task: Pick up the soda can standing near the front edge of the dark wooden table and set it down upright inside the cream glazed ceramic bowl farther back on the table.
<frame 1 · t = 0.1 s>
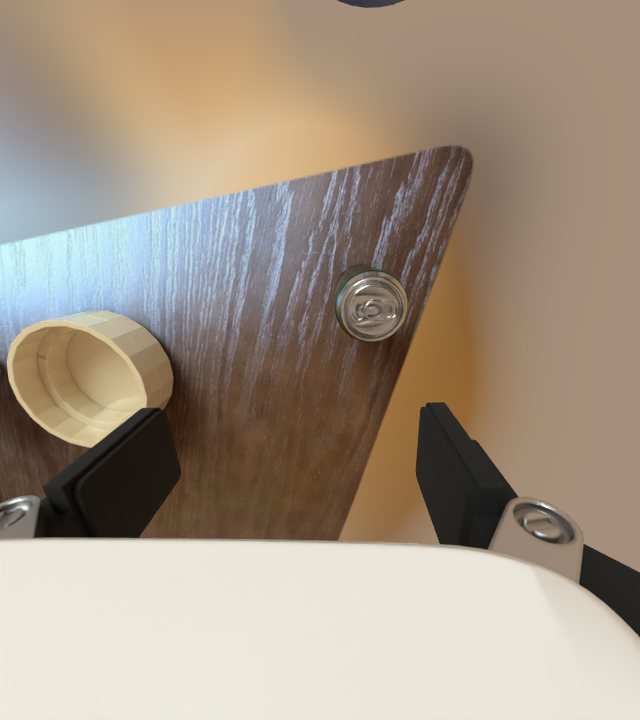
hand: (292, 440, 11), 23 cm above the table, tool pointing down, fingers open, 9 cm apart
bowl: (118, 367, 36), on the table
soda can: (359, 289, 31), on the table
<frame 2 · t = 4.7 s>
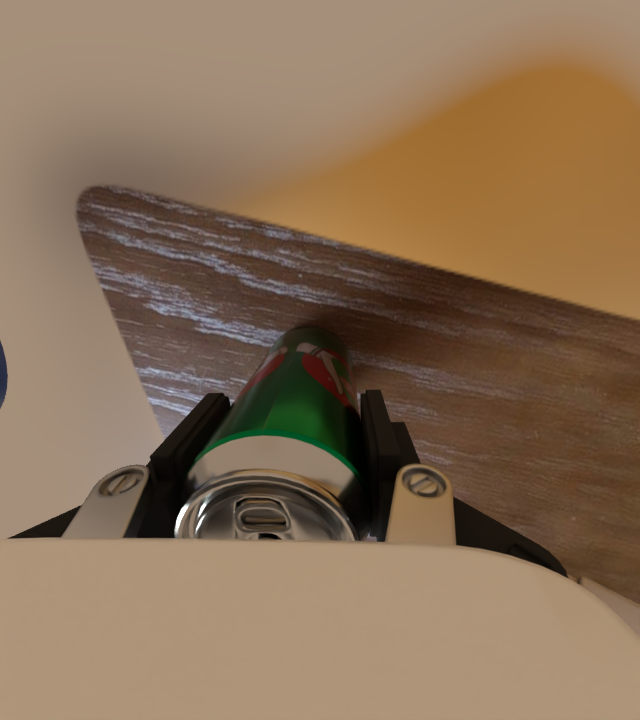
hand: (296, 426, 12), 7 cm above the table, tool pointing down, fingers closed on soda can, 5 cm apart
soda can: (310, 363, 18), on the table, touching gripper
when the fingers open (8 cm above the table, at t = 12.9 s): soda can stays where it is, resting on bowl.
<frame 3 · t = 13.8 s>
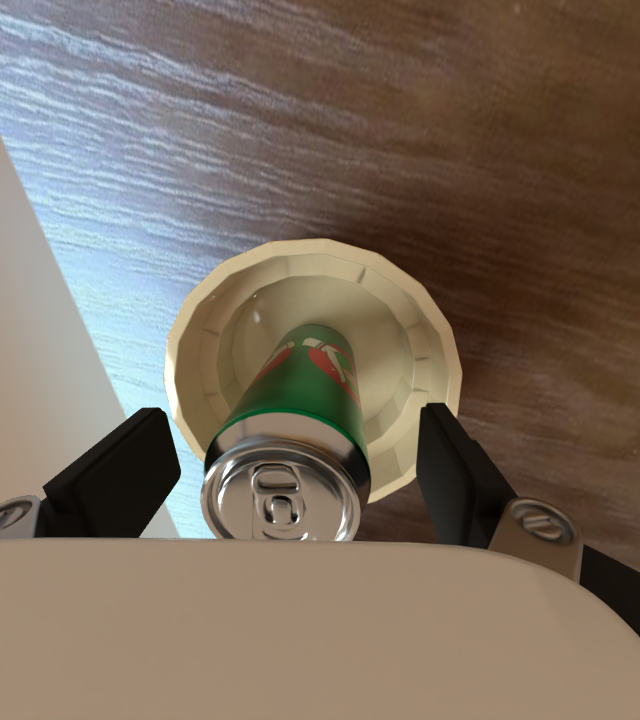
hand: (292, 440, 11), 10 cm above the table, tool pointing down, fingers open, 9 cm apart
bowl: (317, 357, 20), on the table
soda can: (315, 359, 19), point 1 cm above the table, touching bowl
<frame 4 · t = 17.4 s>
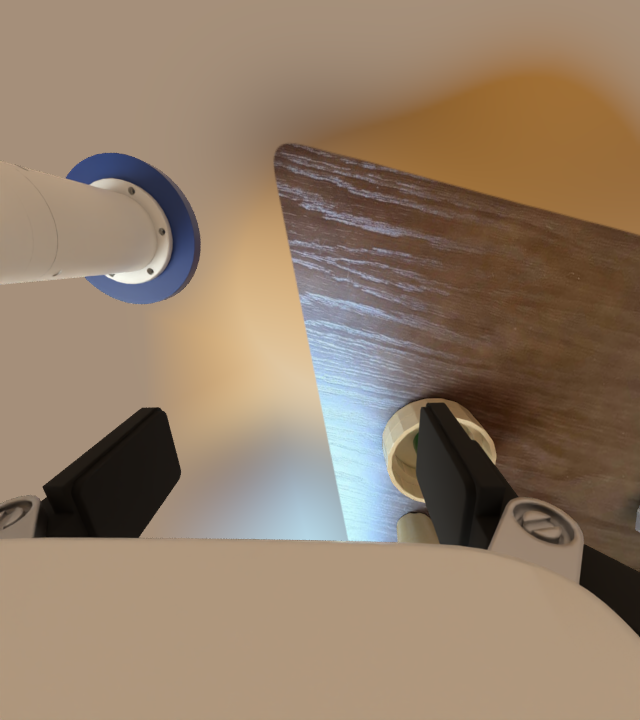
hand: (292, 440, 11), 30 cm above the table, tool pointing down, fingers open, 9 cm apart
bowl: (428, 437, 45), on the table
flower pot: (414, 523, 52), on the table
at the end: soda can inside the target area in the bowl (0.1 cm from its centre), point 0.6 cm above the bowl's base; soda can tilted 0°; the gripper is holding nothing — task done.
